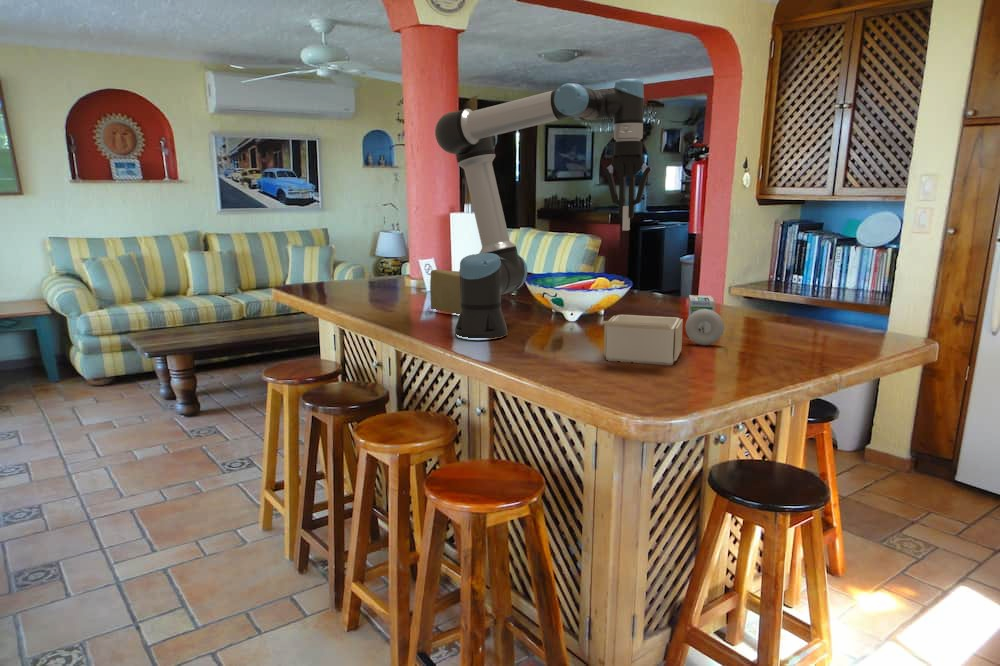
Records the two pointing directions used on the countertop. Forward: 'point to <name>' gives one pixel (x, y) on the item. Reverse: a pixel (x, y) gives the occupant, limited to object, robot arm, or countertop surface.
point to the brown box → (445, 291)
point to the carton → (643, 341)
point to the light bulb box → (701, 303)
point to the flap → (637, 325)
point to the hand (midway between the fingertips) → (626, 230)
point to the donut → (709, 317)
